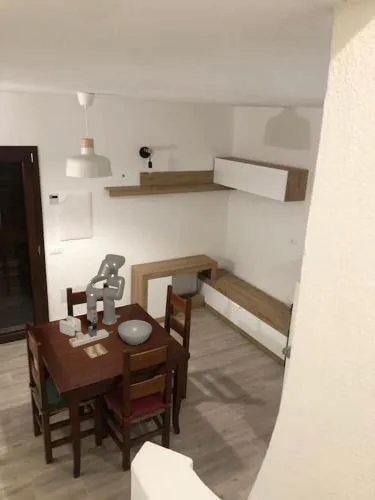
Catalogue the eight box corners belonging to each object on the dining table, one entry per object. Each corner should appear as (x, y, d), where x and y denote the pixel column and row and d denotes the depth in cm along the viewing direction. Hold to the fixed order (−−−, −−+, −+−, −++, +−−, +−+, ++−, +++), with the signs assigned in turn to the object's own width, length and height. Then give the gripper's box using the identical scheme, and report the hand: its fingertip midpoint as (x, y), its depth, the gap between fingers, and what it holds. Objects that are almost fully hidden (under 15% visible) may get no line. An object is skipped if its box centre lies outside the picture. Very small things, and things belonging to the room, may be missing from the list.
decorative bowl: (127, 330, 341) (127, 317, 338) (156, 336, 334) (157, 323, 330) (111, 346, 317) (111, 332, 313) (143, 353, 310) (143, 339, 306)
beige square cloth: (100, 344, 319) (100, 343, 319) (108, 352, 309) (108, 351, 308) (83, 349, 311) (83, 348, 311) (91, 358, 300) (90, 357, 300)
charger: (94, 332, 329) (93, 324, 327) (96, 335, 325) (96, 327, 323) (88, 334, 326) (88, 326, 324) (91, 337, 322) (90, 329, 320)
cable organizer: (82, 332, 335) (81, 319, 331) (73, 338, 326) (72, 325, 322) (68, 327, 341) (67, 315, 338) (59, 332, 332) (58, 320, 329)
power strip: (110, 330, 340) (110, 321, 338) (115, 334, 334) (115, 325, 332) (69, 342, 319) (68, 333, 317) (73, 347, 313) (72, 338, 311)
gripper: (101, 310, 313) (101, 330, 318) (91, 301, 326) (91, 321, 331) (92, 312, 309) (92, 332, 314) (82, 303, 322) (82, 323, 327)
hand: (91, 326), depth 322 cm, fingers open, 9 cm apart
